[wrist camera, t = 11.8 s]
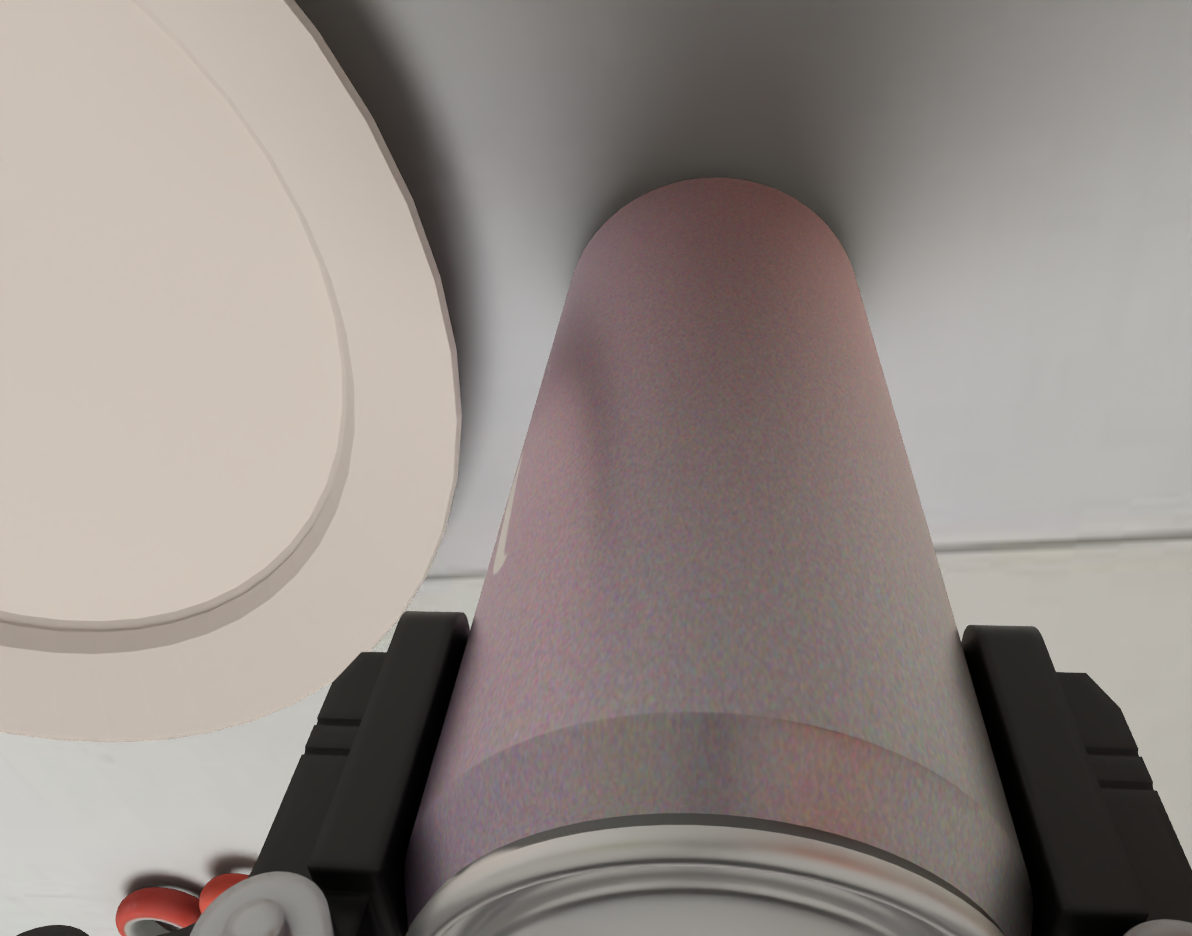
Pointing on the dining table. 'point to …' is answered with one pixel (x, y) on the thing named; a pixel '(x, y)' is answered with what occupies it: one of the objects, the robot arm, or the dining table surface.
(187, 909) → the scissors
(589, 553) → the beverage can
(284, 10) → the plate
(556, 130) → the dining table surface
